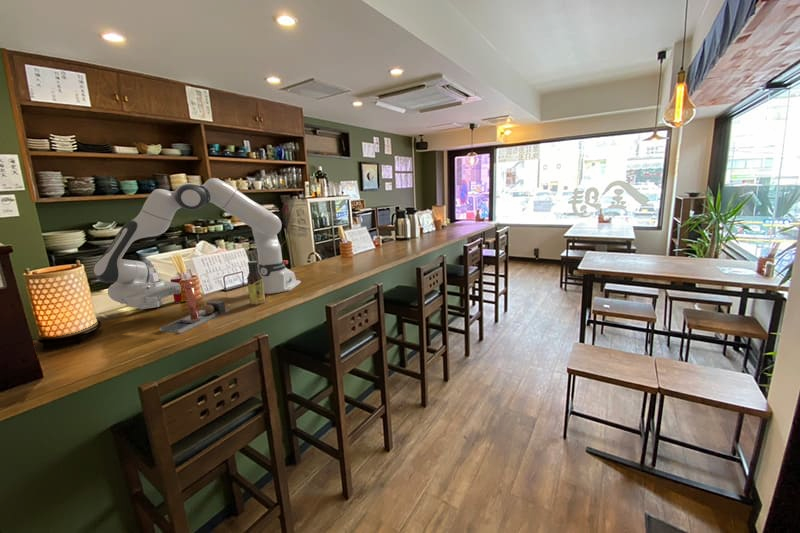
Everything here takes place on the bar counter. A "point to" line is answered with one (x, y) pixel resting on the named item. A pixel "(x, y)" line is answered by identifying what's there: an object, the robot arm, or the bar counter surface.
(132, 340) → the bar counter surface
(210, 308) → the walnut
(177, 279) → the soda can
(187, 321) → the lever
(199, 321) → the bed
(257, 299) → the sauce bottle
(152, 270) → the milk carton
